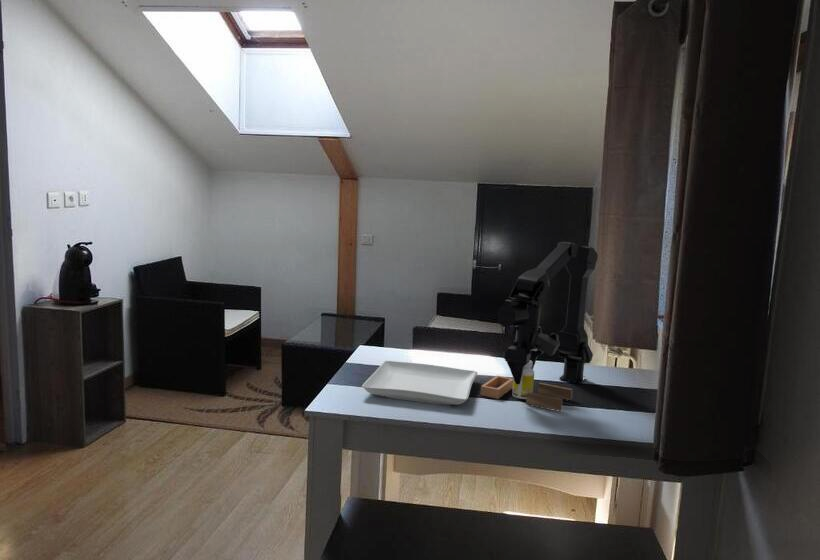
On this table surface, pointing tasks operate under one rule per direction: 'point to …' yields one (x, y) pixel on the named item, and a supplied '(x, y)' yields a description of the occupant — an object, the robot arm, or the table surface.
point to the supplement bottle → (524, 383)
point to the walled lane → (547, 400)
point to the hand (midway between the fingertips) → (523, 379)
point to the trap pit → (497, 387)
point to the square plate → (421, 382)
